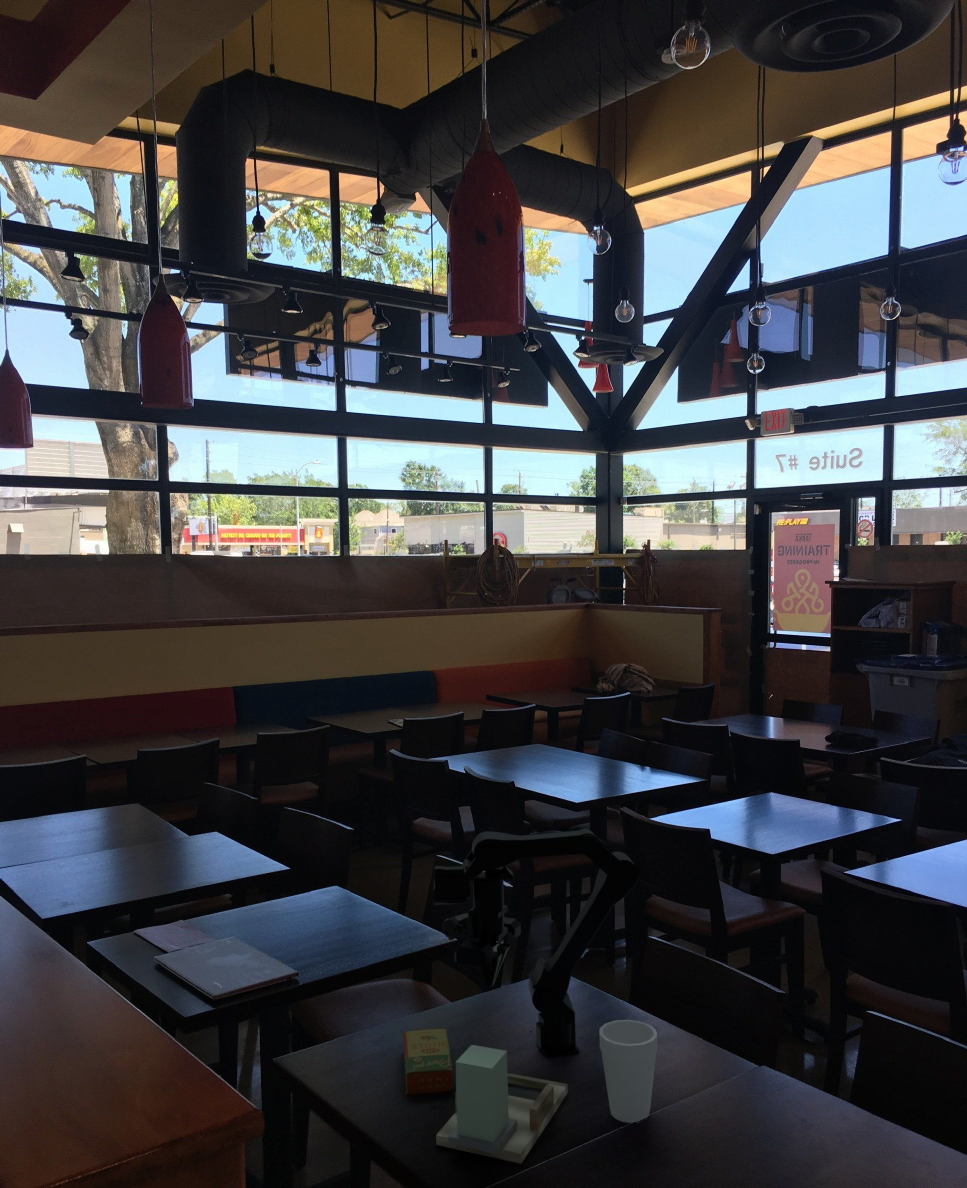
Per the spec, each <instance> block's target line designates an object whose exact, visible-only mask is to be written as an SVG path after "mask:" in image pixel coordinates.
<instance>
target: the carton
mask: <svg viewBox="0 0 967 1188" xmlns="http://www.w3.org/2000/svg"><path fill="white" fill-rule="evenodd" d="M447 1033H448V1032H447V1029H446V1028H432V1029H421V1030H420V1029H419V1030H409V1031H403V1033H402V1038H403V1040H402V1041H403V1059H404V1063H405V1064H404V1078H405V1079H404V1080H405V1082H404V1083H405V1094H406V1093H407V1094H411V1095H422V1094H430V1093H440V1092H441V1093H442V1092H443V1091H445V1092H452V1091H451V1090H453V1089H455V1088H454V1087H455V1086H454V1073H453V1069H454V1068H453V1064H452V1059H451V1050H450V1047H449V1040H448V1035H447ZM453 1091H454V1090H453ZM407 1094H406V1095H407Z"/></svg>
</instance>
